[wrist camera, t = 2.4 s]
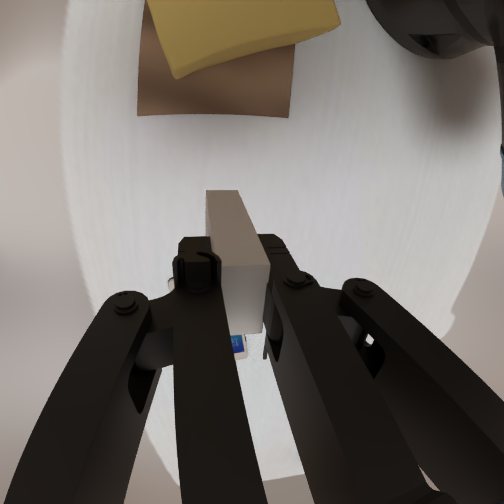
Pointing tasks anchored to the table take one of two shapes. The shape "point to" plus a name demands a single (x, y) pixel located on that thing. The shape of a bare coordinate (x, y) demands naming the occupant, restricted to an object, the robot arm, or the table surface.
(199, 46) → the cheese
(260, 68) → the serving board
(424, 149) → the table surface
